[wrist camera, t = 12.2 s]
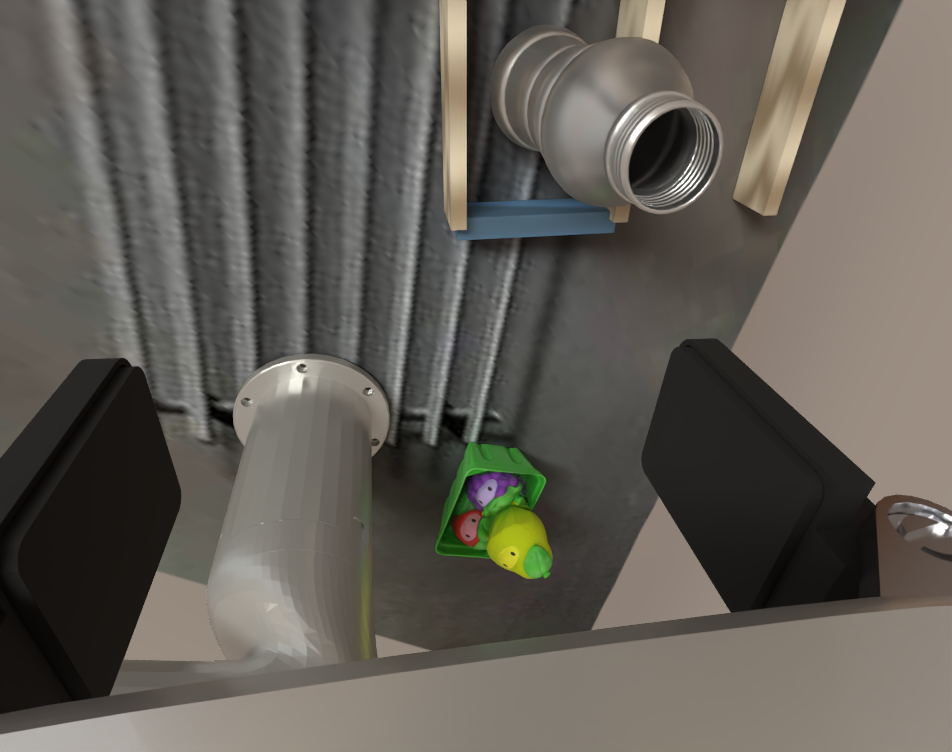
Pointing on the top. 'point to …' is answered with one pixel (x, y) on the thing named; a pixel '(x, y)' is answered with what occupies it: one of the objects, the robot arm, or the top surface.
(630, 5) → the divider rack
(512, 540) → the fruit basket
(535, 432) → the top surface
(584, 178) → the plastic bottle
